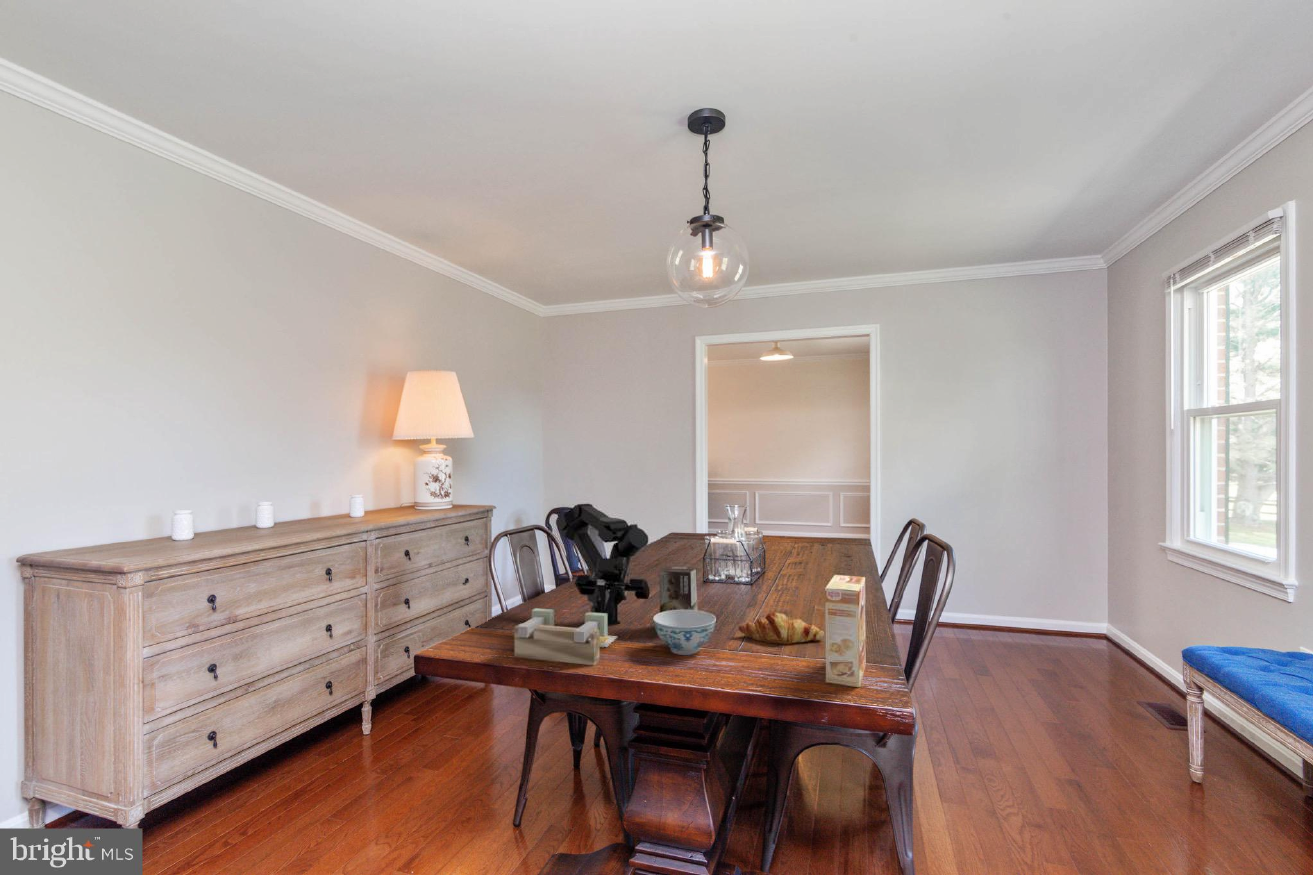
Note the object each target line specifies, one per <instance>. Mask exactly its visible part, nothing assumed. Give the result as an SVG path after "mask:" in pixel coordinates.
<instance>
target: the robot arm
mask: <svg viewBox="0 0 1313 875" xmlns="http://www.w3.org/2000/svg"><path fill="white" fill-rule="evenodd" d="M560 516H561V517H559V519H558V521H557V526H558V529H559V531H560V533H561V534H562V535H563V537H564V538H566V539H567V540H569V541H571V542H573V543H574V545H575V547H576V549H577V551H578V552H579V555H580V556H581V558H582V559H583V561H584V563H585V565H586V567H587V569H588V570H589V572H590V573H591V574H590V575H589V574H578V575H577V576H576V577H575V580H574V584H575V587H576V589H577V591H578V593H579V595H582V596H587V601H588V602H590V603H592V606H591V607H590V612H592V613H606V614H607V626H611V625H617V624H621V620H619V617H618V614H619V613H618V612H619V611H618V608H619V607H618V605H619V604H621V603H622V602H623V601H627V598H628V597H627V593H628V592H634V596H635V598H636V599H637V600H638V599H639V600H648V599H649V598H650V594H651V589H650V586H649V584H648V582H647V579H646V578H645V577H630V579H629V581H628V582H626V580H627V577H629V576H630V572H629V569H630V565H631V561H632V559H633V557H635V556H637V555H639V553H640V552H641V551H642V550H643V549H644V548H645V547H647V545H648V544H649V536H648V534H647V533H646V531H644V529H642V528H640V527H639V526H638V524H637V523H634V524H630V525H629V523H628V522H627V521H626V520H625V519H623V518H618V517H617V518H616V517H611V516H608V515H607V514H605V513H604V512H602V511H600V510H599V509H598V508H596V507H594V506H593V504H591V503H578V504H575V505H574V506H573V507H572V509H570V510H567V511H566V512H564V513H563V514H562V515H560ZM589 526H590V527H592V528H594V529H595V530H596V531H597V536H598V537H599V538H600V539H601V541H602V542H603V543H613V544H612V547H611V550H610V554H609V557H608V558H605V557H604V558H603V556H602V554H601V553H600V551H599V549H598V548H597V546H596V544H595V542H594V541H593V538H591V536H590V534H589V532H588V531H589Z"/></svg>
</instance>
